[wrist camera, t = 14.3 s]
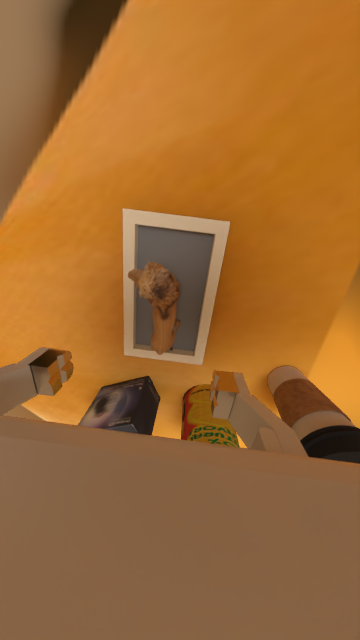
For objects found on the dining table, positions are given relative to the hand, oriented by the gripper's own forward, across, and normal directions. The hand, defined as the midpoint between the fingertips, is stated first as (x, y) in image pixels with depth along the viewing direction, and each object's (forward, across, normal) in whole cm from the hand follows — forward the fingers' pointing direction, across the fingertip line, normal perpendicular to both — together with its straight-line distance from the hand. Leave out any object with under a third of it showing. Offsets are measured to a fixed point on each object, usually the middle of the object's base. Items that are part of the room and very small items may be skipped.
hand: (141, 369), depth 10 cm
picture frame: (+19, 0, +1) cm, 19 cm away
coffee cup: (+19, -22, +14) cm, 32 cm away
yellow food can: (+19, -9, +22) cm, 30 cm away
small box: (+19, +6, +22) cm, 30 cm away
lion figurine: (+18, +1, +2) cm, 18 cm away
